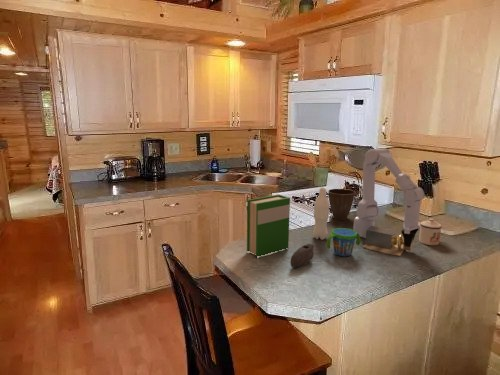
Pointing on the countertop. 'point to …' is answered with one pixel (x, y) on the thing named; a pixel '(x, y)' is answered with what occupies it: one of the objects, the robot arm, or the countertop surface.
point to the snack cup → (343, 241)
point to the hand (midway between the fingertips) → (408, 244)
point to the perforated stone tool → (302, 256)
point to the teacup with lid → (430, 232)
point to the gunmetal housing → (379, 237)
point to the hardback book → (268, 224)
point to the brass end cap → (400, 242)
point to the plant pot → (341, 202)
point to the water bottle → (321, 215)
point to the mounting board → (393, 250)
